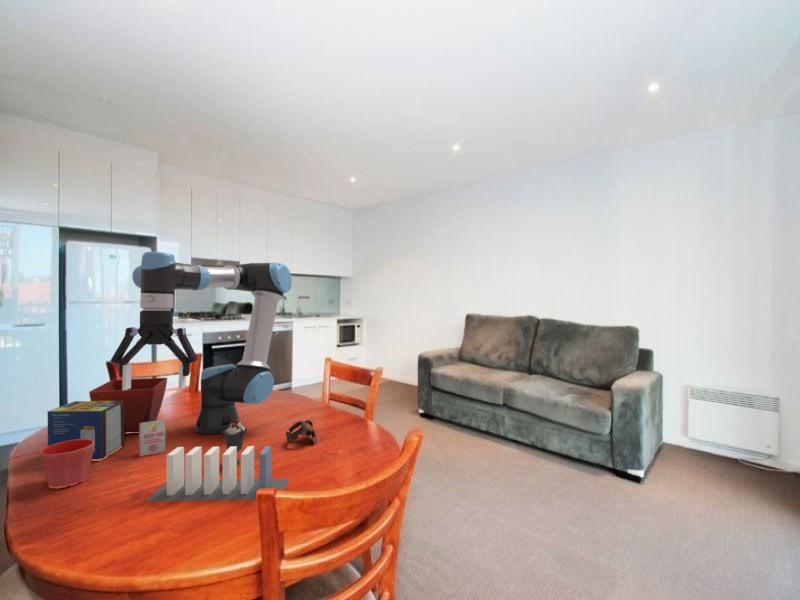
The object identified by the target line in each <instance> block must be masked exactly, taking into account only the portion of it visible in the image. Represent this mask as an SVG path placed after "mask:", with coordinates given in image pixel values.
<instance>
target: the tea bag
mask: <svg viewBox="0 0 800 600" xmlns="http://www.w3.org/2000/svg"><path fill="white" fill-rule="evenodd" d="M161 452H165V453H166V419H158V420H156V421H151V422H144V423H139V434H138V457H139V456H140V455H146V454H153V453H160V454H162V453H161Z"/></svg>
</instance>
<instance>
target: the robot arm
mask: <svg viewBox="0 0 800 600" xmlns="http://www.w3.org/2000/svg"><path fill="white" fill-rule="evenodd" d="M175 259H176V258H175V255H174V254H173V253H170V252H161V251H146V252H143V254H142V256H141V262H140V263H141V264H140V265H139V266H137V267H136V268H135V269H134V270H133V271H132V282H133V284H134V285H135V286H136V287H137V288H140V300H139V301H140V303H139V307H140V308H141V309H142V310H140V312H139V328H136V327H134V326H133V327H131V326H130V327H127V328H125V331H124V332H125V333H124V336H123V338H122V340H121V342H120V343H119V345H118V347H117V349H116V350H115V352H114V353H113V355H112V356H111V359H110V362H111V363H112V364H117V365H118V368H119V369H118V377H119V378H122V379H121V380H122V390H127V389H130V388H131V379H132V363H130V361H132V359H133V358H134V357H135V356H136V355H137V354H138V353H139V352H140V351H141V350H142V349H143V348H144V347H145V346H146V345H148V346H149V345H158V346H159V345H164V346H165V347H167V348H168V349H169V350H170V352H171V353H172V354H173V355H174V356H175V357H176V358H177V359H178V360H179V362H180V363H181V364H179V367H178V390H183V389H185V388H186V385H187V383H186V382H187V381H186V380H187V377H188V376H189V375H190V374H191V372H190V371H191V369H190V368H191V363H194V362H196V361H197V360H199V359H198V355H197V354H196V351H195V350H194V348H193V346H192V344H191V343H190V341H189V338H188V336H187V332H186V327H178V328H174V326H173V325H174V311H173V310H172V309H174V295H175V294H174V293H175V292H174V291H175V290H188V291H190V290H192V291H203V290H205V289H210V288H216V289H217V288H219V289H220V288H223V289H225V290H229V291H232V290H233V291H241V292H242V291H243V292H251V295H252V296H253V297H254V302H253V306H252V309H251V310H252V311H251V316H250V321H249V325H248V330H247V335H246V338H245V339H246V340H245V345H244V349H243V350H244V351H243V355H242V359H241V360H240V361H239V362H238V363H236V365H235V364H232V363H229V364H222V365H215V366H210V367H207V368H203V370H202V371H201V375H200V376H201V377H200V410H199V413H198V416H197V418H196V419H197V420H196V422H195V432H196V433H197V432H198V434H200V435H217V434H218V435H220V434H223V433H222V432H223V431H224V430H225V429H227V428H228V427H229V426H230V424H231V423H232V422H233V419H234V417H235V416H236V417H235V419H237V420H238V421H240V422H241V417H240V414H239V411H238V409H237V405H236V403H239V404H240V403H241V404H246V405H260V404H262V403H264V402H265V401H266V400H267V399H268V398H269V397H270V395H271V393H272V392H273V389H274V385H275V384H274V383H275V380H274V375H273V374H272V373H271V372H270V366H269V364H268V362H267V361H268V356H269V351H270V346H271V341H272V336H273V330H274V325H275V320H276V314H277V309H278V304H279V302H280V301H282V300H283V298H284V294H285V293H289V291H290V290H291V288H292V284H293V278H292V274H291V271H290V269H289V268H288V266H287V265H285V263H282V262H272V261H271V262H249V263H242V264H227V265H224V266H223V267H220V266H203V265H202V266H201V265H199V264H190V263H189V264H188V263H182V262H176V260H175ZM174 334H175V336H176V337H177V338H178V341H179V343H180V344H181V346H182V348H183V350H182V348H180V347H179V345H178V344H177V343H176V341H175V340H174V339H173V338H172V336H173V335H174ZM137 335H139V337H140V338H139V340H137V341H136V343H135V344H134V345H133V346H132V347H131V349H129V350H128V348H129V347H130V345H131V343H132V342H133V339H134V338H135V336H137ZM127 350H128V351H127ZM126 352H127V353H126ZM235 419H234V421H235Z"/></svg>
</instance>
